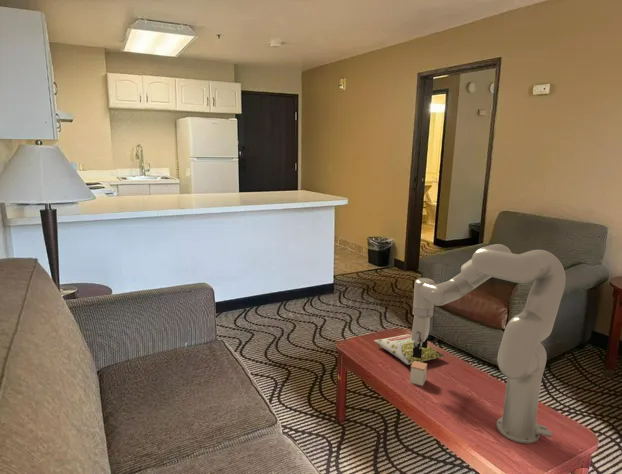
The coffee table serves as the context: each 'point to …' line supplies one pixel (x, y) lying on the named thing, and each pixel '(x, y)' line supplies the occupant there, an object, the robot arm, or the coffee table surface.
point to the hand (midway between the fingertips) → (420, 352)
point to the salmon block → (418, 373)
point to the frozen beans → (407, 349)
